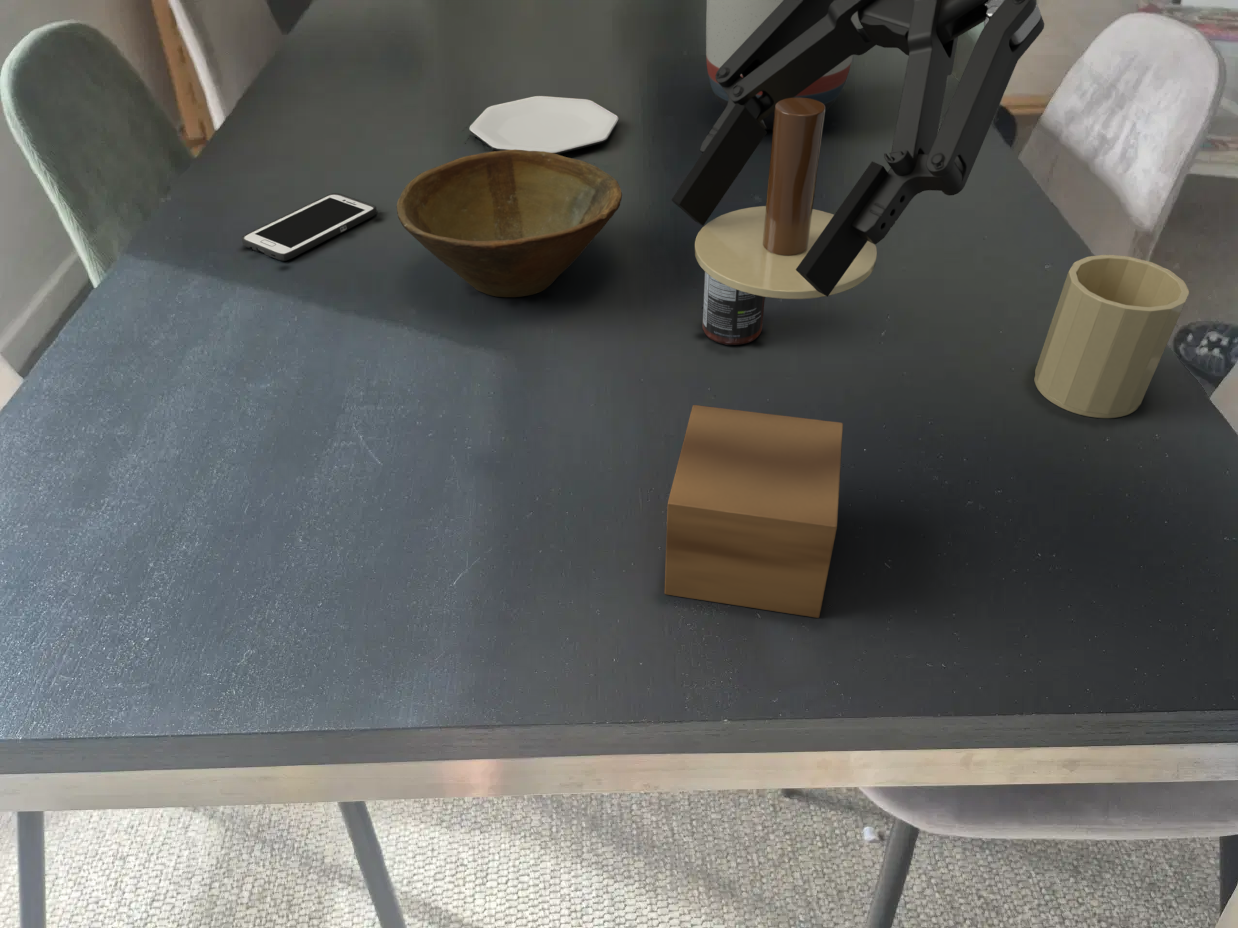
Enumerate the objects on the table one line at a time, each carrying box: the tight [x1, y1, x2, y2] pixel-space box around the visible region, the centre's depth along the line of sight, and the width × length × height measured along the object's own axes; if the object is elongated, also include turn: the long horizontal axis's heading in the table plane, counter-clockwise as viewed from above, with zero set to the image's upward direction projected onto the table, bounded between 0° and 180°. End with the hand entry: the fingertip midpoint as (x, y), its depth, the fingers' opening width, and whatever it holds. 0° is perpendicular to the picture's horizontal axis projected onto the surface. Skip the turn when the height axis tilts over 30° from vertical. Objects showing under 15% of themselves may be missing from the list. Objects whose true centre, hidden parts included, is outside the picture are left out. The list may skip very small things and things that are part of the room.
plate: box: [469, 95, 620, 155], centre depth 133 cm, size 20×20×2 cm
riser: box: [664, 404, 844, 619], centre depth 68 cm, size 11×11×9 cm
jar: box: [1033, 254, 1190, 419], centre depth 83 cm, size 9×9×11 cm
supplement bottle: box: [701, 271, 766, 346], centre depth 91 cm, size 6×6×11 cm
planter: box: [705, 0, 860, 131], centre depth 129 cm, size 20×20×21 cm
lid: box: [694, 98, 878, 300], centre depth 52 cm, size 10×10×8 cm
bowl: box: [395, 149, 623, 298], centre depth 100 cm, size 22×23×10 cm
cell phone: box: [241, 192, 378, 262], centre depth 111 cm, size 8×15×1 cm, turn 145°
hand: (745, 246), depth 53 cm, fingers closed on lid, 10 cm apart
